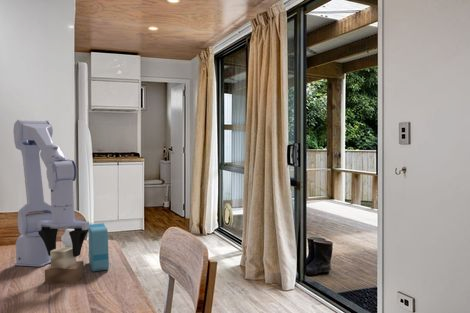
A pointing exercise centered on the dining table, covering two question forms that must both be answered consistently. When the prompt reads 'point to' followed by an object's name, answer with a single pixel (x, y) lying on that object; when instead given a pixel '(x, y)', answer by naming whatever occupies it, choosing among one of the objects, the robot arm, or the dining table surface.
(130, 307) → the dining table surface
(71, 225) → the robot arm
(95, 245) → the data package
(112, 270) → the dining table surface
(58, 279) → the walnut base block
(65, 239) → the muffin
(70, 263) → the birch cube
